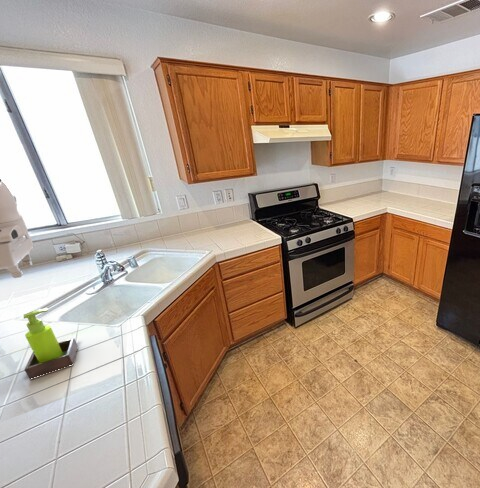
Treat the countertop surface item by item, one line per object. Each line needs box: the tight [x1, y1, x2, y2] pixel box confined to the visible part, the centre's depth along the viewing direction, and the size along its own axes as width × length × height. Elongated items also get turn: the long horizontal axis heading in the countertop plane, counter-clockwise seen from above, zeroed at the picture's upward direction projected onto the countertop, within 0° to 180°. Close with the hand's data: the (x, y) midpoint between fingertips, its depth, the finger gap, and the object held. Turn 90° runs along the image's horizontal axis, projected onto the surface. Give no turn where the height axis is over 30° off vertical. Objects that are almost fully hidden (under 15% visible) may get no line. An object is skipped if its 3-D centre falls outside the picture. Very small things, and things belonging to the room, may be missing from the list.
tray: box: [24, 337, 79, 380], centre depth 91 cm, size 11×11×5 cm
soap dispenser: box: [23, 307, 64, 363], centre depth 88 cm, size 6×7×20 cm
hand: (23, 271), depth 84 cm, fingers open, 8 cm apart
